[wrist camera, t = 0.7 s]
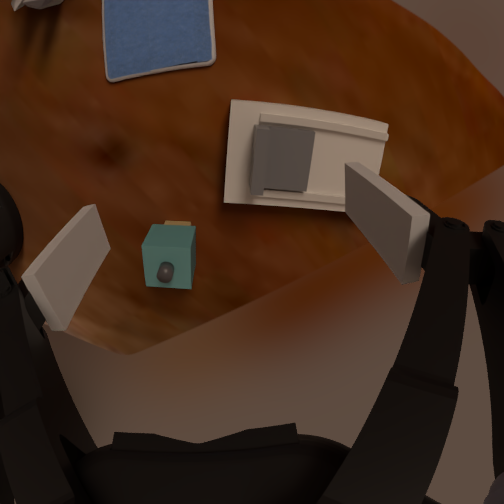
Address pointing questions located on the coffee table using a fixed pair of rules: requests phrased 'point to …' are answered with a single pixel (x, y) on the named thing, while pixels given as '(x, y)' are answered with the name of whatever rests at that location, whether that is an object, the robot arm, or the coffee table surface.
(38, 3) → the crystal
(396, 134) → the coffee table surface
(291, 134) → the shutter
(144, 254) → the plug
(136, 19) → the blue flat panel
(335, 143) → the grey tray
